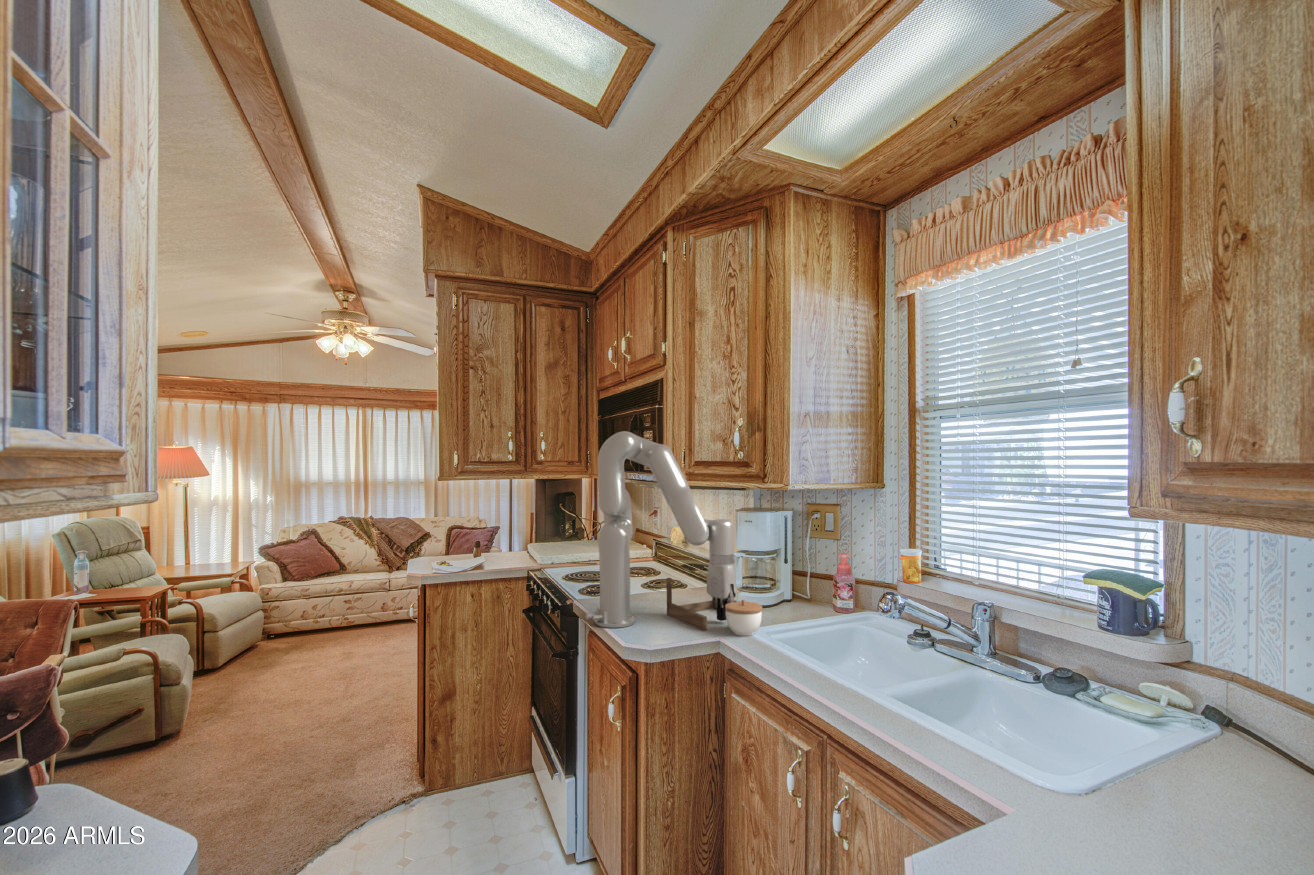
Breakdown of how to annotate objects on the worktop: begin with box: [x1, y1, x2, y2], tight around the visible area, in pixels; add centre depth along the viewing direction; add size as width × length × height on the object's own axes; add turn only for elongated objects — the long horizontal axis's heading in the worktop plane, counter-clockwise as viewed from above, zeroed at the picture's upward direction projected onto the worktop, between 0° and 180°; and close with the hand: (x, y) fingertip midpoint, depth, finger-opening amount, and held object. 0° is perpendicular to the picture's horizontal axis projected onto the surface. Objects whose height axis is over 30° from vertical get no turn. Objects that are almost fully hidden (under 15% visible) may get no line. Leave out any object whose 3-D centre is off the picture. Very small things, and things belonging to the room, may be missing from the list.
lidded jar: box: [725, 599, 763, 637], centre depth 162 cm, size 11×11×9 cm
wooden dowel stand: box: [666, 577, 718, 632], centre depth 178 cm, size 19×21×12 cm
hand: (722, 619), depth 172 cm, fingers closed
